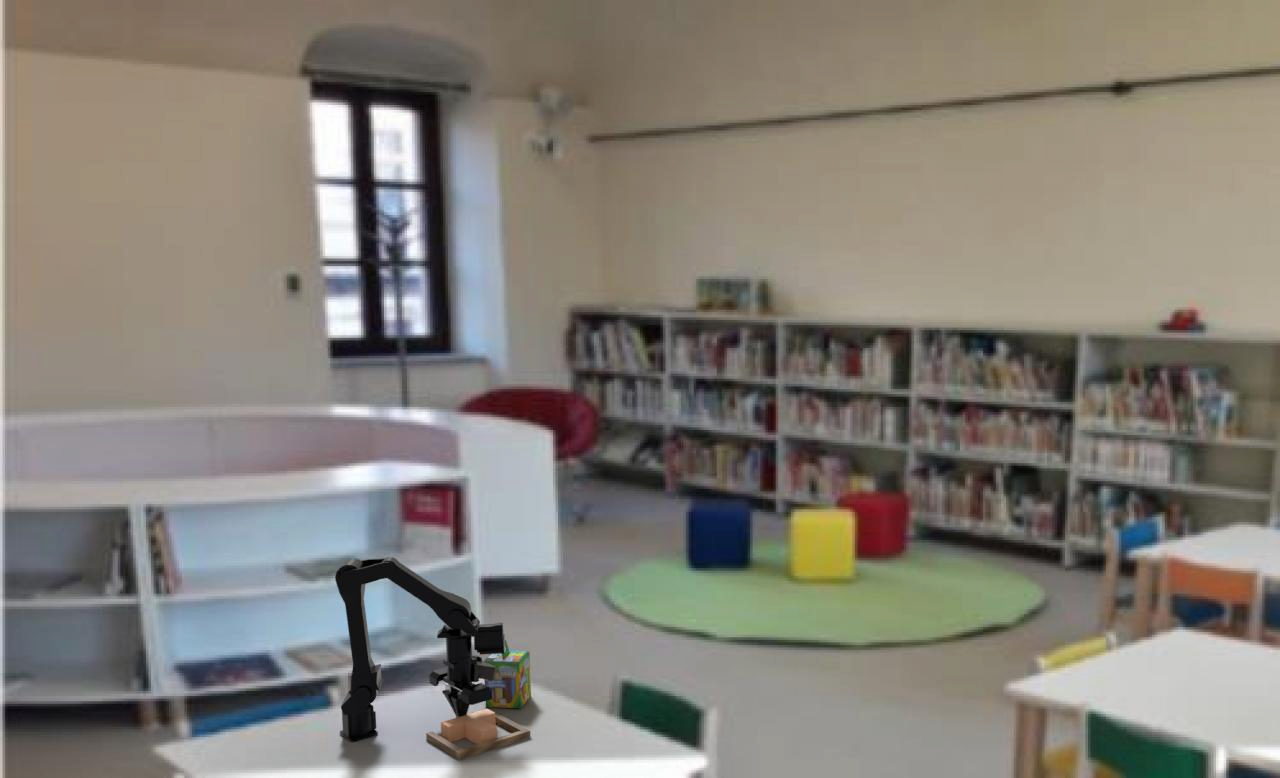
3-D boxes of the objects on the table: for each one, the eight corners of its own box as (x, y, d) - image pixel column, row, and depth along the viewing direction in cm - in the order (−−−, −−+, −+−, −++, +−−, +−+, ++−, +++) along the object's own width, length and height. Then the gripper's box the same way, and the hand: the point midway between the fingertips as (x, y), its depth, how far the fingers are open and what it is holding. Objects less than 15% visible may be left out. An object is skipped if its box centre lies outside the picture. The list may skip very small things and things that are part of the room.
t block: (465, 752, 242) (465, 736, 242) (441, 737, 250) (440, 722, 250) (512, 736, 250) (512, 721, 250) (487, 723, 258) (486, 708, 258)
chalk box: (521, 710, 266) (519, 649, 264) (484, 708, 267) (481, 647, 266) (532, 695, 275) (530, 636, 273) (496, 693, 277) (494, 635, 275)
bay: (459, 760, 238) (459, 753, 238) (426, 739, 249) (426, 733, 249) (530, 737, 249) (530, 730, 249) (495, 718, 261) (495, 712, 260)
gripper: (512, 657, 251) (514, 724, 253) (468, 637, 266) (471, 701, 267) (468, 668, 244) (471, 738, 246) (426, 648, 259) (429, 713, 260)
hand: (461, 721), depth 255 cm, fingers closed
